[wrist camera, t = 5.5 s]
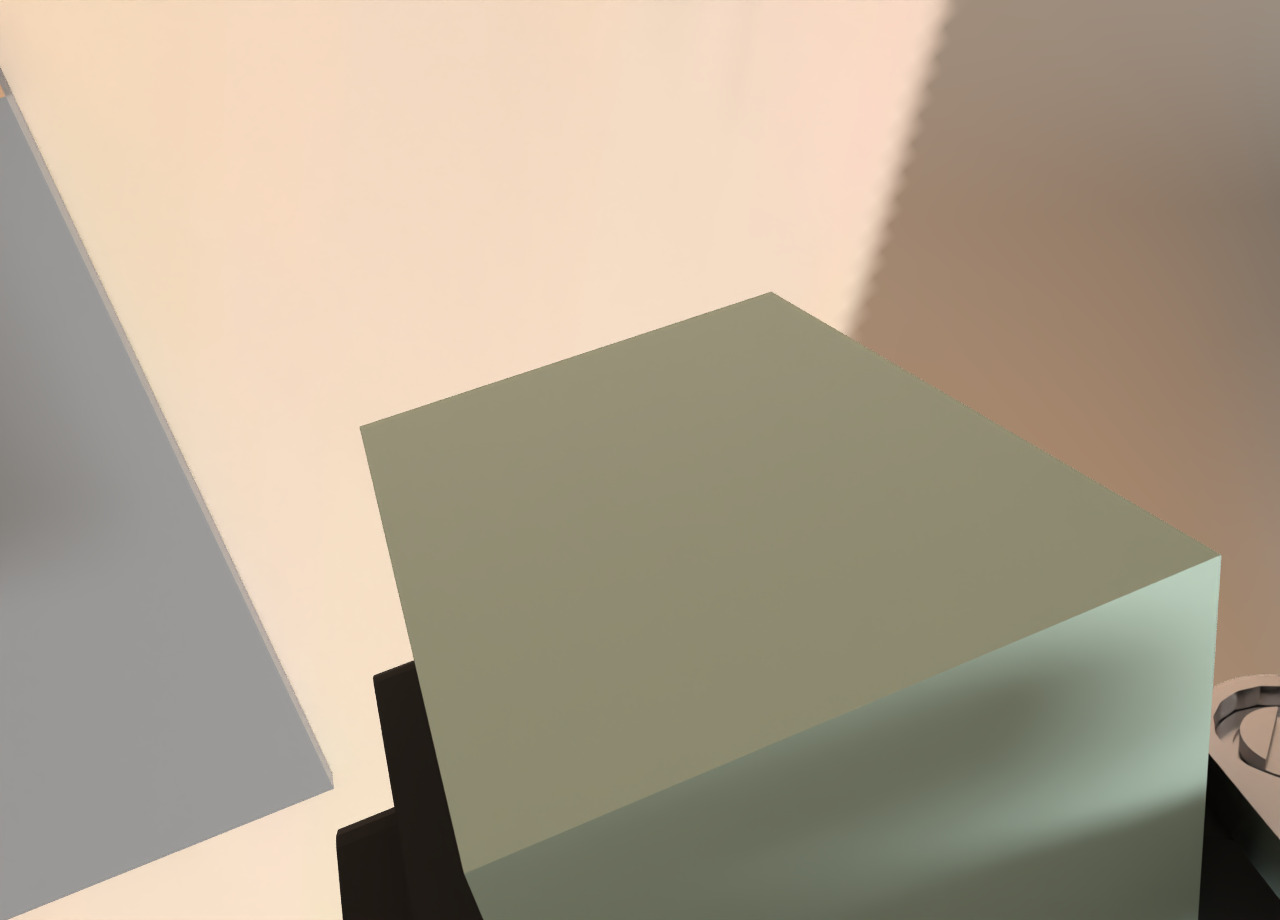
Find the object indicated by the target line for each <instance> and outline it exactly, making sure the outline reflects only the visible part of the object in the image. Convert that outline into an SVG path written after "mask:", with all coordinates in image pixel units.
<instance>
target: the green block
mask: <svg viewBox="0 0 1280 920" xmlns="http://www.w3.org/2000/svg"><path fill="white" fill-rule="evenodd" d="M360 430H361V435H362V439H363V443H364V447H365V452H366V456H367V460H368V465H369V469H370V473H371V477H372V482H373V486H374V490H375V495H376V499H377V503H378V507H379V512H380V516H381V520H382V525H383V529H384V533H385V537H386V542H387V546H388V550H389V555H390V559H391V563H392V567H393V572H394V576H395V580H396V584H397V589H398V593H399V597H400V602H401V606H402V610H403V614H404V619H405V623H406V627H407V632H408V636H409V640H410V644H411V649H412V653H413V657H414V662H415V666H416V670H417V674H418V679H419V683H420V687H421V691H422V696H423V700H424V704H425V709H426V713H427V717H428V721H429V726H430V730H431V734H432V739H433V743H434V747H435V751H436V756H437V760H438V764H439V769H440V773H441V777H442V781H443V786H444V790H445V794H446V799H447V803H448V807H449V811H450V816H451V820H452V824H453V828H454V833H455V837H456V841H457V846H458V850H459V854H460V858H461V863H462V867H463V871H464V875H465V877H466V879H467V882H468V884H469V887H470V889H471V891H472V894H473V896H474V898H475V901H476V903H477V905H478V908H479V910H480V913H481V915H482V917H483V920H1198V910H1199V895H1200V879H1201V863H1202V848H1203V832H1204V817H1205V801H1206V785H1207V770H1208V754H1209V738H1210V723H1211V707H1212V692H1213V675H1214V659H1215V645H1216V629H1217V613H1218V597H1219V582H1220V581H1219V580H1220V567H1221V554H1219V553H1217V552H1215V551H1214V550H1212V549H1210V548H1209V547H1207V546H1205V545H1203V544H1202V543H1200V542H1198V541H1197V540H1195V539H1193V538H1191V537H1190V536H1188V535H1186V534H1185V533H1183V532H1181V531H1180V530H1178V529H1176V528H1174V527H1173V526H1171V525H1169V524H1168V523H1166V522H1164V521H1162V520H1160V519H1159V518H1157V517H1156V516H1154V515H1152V514H1150V513H1149V512H1147V511H1145V510H1143V509H1142V508H1140V507H1138V506H1137V505H1135V504H1133V503H1131V502H1130V501H1128V500H1126V499H1125V498H1123V497H1121V496H1120V495H1118V494H1116V493H1115V492H1112V491H1111V490H1109V489H1108V488H1106V487H1104V486H1103V485H1101V484H1099V483H1097V482H1096V481H1094V480H1092V479H1090V478H1089V477H1087V476H1085V475H1084V474H1082V473H1080V472H1079V471H1077V470H1075V469H1073V468H1072V467H1070V466H1068V465H1067V464H1065V463H1063V462H1062V461H1060V460H1058V459H1056V458H1055V457H1053V456H1051V455H1050V454H1048V453H1046V452H1044V451H1043V450H1041V449H1039V448H1038V447H1036V446H1034V445H1032V444H1031V443H1029V442H1027V441H1026V440H1024V439H1022V438H1020V437H1019V436H1017V435H1015V434H1014V433H1012V432H1010V431H1008V430H1006V429H1005V428H1003V427H1002V426H1000V425H998V424H996V423H994V422H993V421H991V420H990V419H988V418H986V417H984V416H983V415H981V414H979V413H978V412H976V411H974V410H973V409H971V408H969V407H967V406H966V405H964V404H962V403H961V402H959V401H957V400H955V399H954V398H952V397H950V396H949V395H947V394H945V393H944V392H942V391H940V390H938V389H937V388H935V387H933V386H932V385H930V384H928V383H926V382H925V381H923V380H921V379H920V378H918V377H916V376H914V375H913V374H911V373H909V372H907V371H906V370H904V369H902V368H901V367H899V366H897V365H895V364H894V363H892V362H890V361H889V360H887V359H885V358H884V357H882V356H880V355H879V354H877V353H875V352H873V351H872V350H870V349H868V348H866V347H865V346H863V345H861V344H860V343H858V342H856V341H855V340H853V339H851V338H849V337H848V336H846V335H844V334H843V333H841V332H839V331H837V330H836V329H834V328H832V327H831V326H829V325H827V324H826V323H824V322H822V321H820V320H819V319H817V318H815V317H814V316H812V315H810V314H808V313H807V312H805V311H803V310H802V309H800V308H798V307H796V306H795V305H793V304H791V303H790V302H788V301H786V300H784V299H783V298H781V297H779V296H778V295H776V294H774V293H773V292H769V293H766V294H763V295H760V296H757V297H754V298H751V299H748V300H745V301H742V302H739V303H736V304H733V305H730V306H727V307H723V308H720V309H717V310H714V311H711V312H708V313H705V314H702V315H699V316H696V317H693V318H690V319H687V320H684V321H681V322H678V323H675V324H672V325H669V326H665V327H662V328H659V329H656V330H653V331H650V332H647V333H644V334H641V335H638V336H635V337H632V338H629V339H626V340H623V341H620V342H617V343H614V344H611V345H608V346H604V347H601V348H598V349H595V350H592V351H589V352H586V353H583V354H580V355H577V356H574V357H571V358H568V359H565V360H562V361H559V362H556V363H553V364H550V365H547V366H543V367H540V368H537V369H534V370H531V371H528V372H525V373H522V374H519V375H516V376H513V377H510V378H507V379H504V380H501V381H498V382H495V383H492V384H489V385H485V386H482V387H479V388H476V389H473V390H470V391H467V392H464V393H461V394H458V395H455V396H452V397H449V398H446V399H443V400H440V401H437V402H434V403H431V404H428V405H424V406H421V407H418V408H415V409H412V410H409V411H406V412H403V413H400V414H397V415H394V416H391V417H388V418H385V419H382V420H379V421H376V422H373V423H370V424H367V425H363V426H360Z"/></svg>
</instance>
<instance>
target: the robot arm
mask: <svg viewBox="0 0 1280 920" xmlns="http://www.w3.org/2000/svg"><path fill="white" fill-rule="evenodd" d="M373 682H374V688H375V694H376V700H377V706H378V712H379V718H380V724H381V730H382V736H383V742H384V748H385V754H386V760H387V766H388V772H389V778H390V784H391V789H392V795H393V801H394V807H393V808H391V809H388V810H386V811H383V812H381V813H378V814H376V815H373V816H371V817H369V818H366V819H364V820H361V821H359V822H356V823H354V824H351V825H349V826H346V827H344V828H341V829H339V830H338V832H337V835H336V850H337V860H338V871H339V882H340V893H341V904H342V915H343V920H483V917H482V915H481V913H480V910H479V908H478V905H477V903H476V901H475V898H474V896H473V894H472V891H471V889H470V887H469V884H468V882H467V879H466V877H465V875H464V871H463V867H462V863H461V858H460V854H459V850H458V846H457V841H456V837H455V833H454V828H453V824H452V820H451V816H450V811H449V807H448V803H447V799H446V794H445V790H444V786H443V781H442V777H441V773H440V769H439V764H438V760H437V756H436V751H435V747H434V743H433V739H432V734H431V730H430V726H429V721H428V717H427V713H426V709H425V704H424V700H423V696H422V691H421V687H420V683H419V679H418V674H417V670H416V666H415V662H414V661H411V662H408V663H406V664H403V665H400V666H398V667H395V668H392V669H390V670H387V671H384V672H382V673H379V674H376V675H374V677H373ZM1198 920H1280V675H1271V674H1270V675H1269V674H1260V675H1252V676H1242V677H1237V678H1234V679H1231V680H1229V681H1226V682H1223V683H1221V684H1218V685H1216V686H1215V687H1213V692H1212V707H1211V723H1210V738H1209V754H1208V770H1207V785H1206V801H1205V817H1204V832H1203V848H1202V863H1201V879H1200V895H1199V910H1198Z"/></svg>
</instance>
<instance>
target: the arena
mask: <svg viewBox="0 0 1280 920" xmlns="http://www.w3.org/2000/svg"><path fill="white" fill-rule="evenodd" d="M331 789H334V786H333V777H332V772H331V770H330V767H329V765H328V763H327V761H326V759H325V757H324V755H323V753H322V750H321V748H320V746H319V744H318V742H317V740H316V738H315V736H314V733H313V731H312V729H311V727H310V725H309V723H308V721H307V719H306V716H305V714H304V712H303V710H302V708H301V706H300V704H299V702H298V699H297V697H296V695H295V693H294V691H293V689H292V687H291V685H290V682H289V680H288V678H287V676H286V674H285V672H284V670H283V668H282V665H281V663H280V661H279V659H278V657H277V655H276V653H275V651H274V648H273V646H272V644H271V642H270V640H269V638H268V636H267V634H266V631H265V629H264V627H263V625H262V623H261V621H260V619H259V617H258V614H257V612H256V610H255V608H254V606H253V604H252V602H251V600H250V597H249V595H248V593H247V591H246V589H245V587H244V585H243V583H242V580H241V578H240V576H239V574H238V572H237V570H236V568H235V566H234V563H233V561H232V559H231V557H230V555H229V553H228V551H227V549H226V546H225V544H224V542H223V540H222V538H221V536H220V534H219V532H218V529H217V527H216V525H215V523H214V521H213V519H212V517H211V515H210V512H209V510H208V508H207V506H206V504H205V502H204V500H203V498H202V495H201V493H200V491H199V489H198V487H197V485H196V483H195V481H194V478H193V476H192V474H191V472H190V470H189V468H188V466H187V464H186V461H185V459H184V457H183V455H182V453H181V451H180V449H179V447H178V444H177V442H176V440H175V438H174V436H173V434H172V432H171V430H170V427H169V425H168V423H167V421H166V419H165V417H164V415H163V413H162V410H161V408H160V406H159V404H158V402H157V400H156V398H155V396H154V393H153V391H152V389H151V387H150V385H149V383H148V381H147V379H146V376H145V374H144V372H143V370H142V368H141V366H140V364H139V362H138V359H137V357H136V355H135V353H134V351H133V349H132V347H131V345H130V342H129V340H128V338H127V336H126V334H125V332H124V330H123V328H122V325H121V323H120V321H119V319H118V317H117V315H116V313H115V311H114V308H113V306H112V304H111V302H110V300H109V298H108V296H107V294H106V291H105V289H104V287H103V285H102V283H101V281H100V279H99V277H98V274H97V272H96V270H95V268H94V266H93V264H92V262H91V260H90V257H89V255H88V253H87V251H86V249H85V247H84V245H83V243H82V240H81V238H80V236H79V234H78V232H77V230H76V228H75V226H74V223H73V221H72V219H71V217H70V215H69V213H68V211H67V209H66V206H65V204H64V202H63V200H62V198H61V196H60V194H59V192H58V189H57V187H56V185H55V183H54V181H53V179H52V177H51V174H50V172H49V170H48V168H47V166H46V164H45V162H44V160H43V157H42V155H41V153H40V151H39V149H38V147H37V145H36V143H35V140H34V138H33V136H32V134H31V132H30V130H29V128H28V126H27V123H26V121H25V119H24V117H23V115H22V113H21V111H20V109H19V106H18V104H17V102H16V100H15V98H14V96H13V94H12V92H11V89H10V87H9V85H8V83H7V81H6V79H5V77H4V75H3V72H2V70H1V68H0V920H8V919H10V918H13V917H15V916H18V915H20V914H23V913H25V912H28V911H30V910H33V909H35V908H38V907H40V906H43V905H45V904H48V903H50V902H53V901H55V900H58V899H60V898H63V897H65V896H68V895H70V894H73V893H75V892H78V891H80V890H82V889H85V888H87V887H90V886H92V885H95V884H97V883H100V882H102V881H105V880H107V879H110V878H112V877H115V876H117V875H120V874H122V873H125V872H127V871H130V870H132V869H135V868H137V867H140V866H142V865H145V864H147V863H150V862H152V861H155V860H157V859H160V858H162V857H165V856H167V855H170V854H172V853H175V852H177V851H180V850H182V849H185V848H187V847H190V846H192V845H195V844H197V843H199V842H202V841H204V840H207V839H209V838H212V837H214V836H217V835H219V834H222V833H224V832H227V831H229V830H232V829H234V828H237V827H239V826H242V825H244V824H247V823H249V822H252V821H254V820H257V819H259V818H262V817H264V816H267V815H269V814H272V813H274V812H277V811H279V810H282V809H284V808H287V807H289V806H292V805H294V804H297V803H299V802H302V801H304V800H307V799H309V798H312V797H314V796H317V795H319V794H321V793H324V792H326V791H329V790H331Z"/></svg>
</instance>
